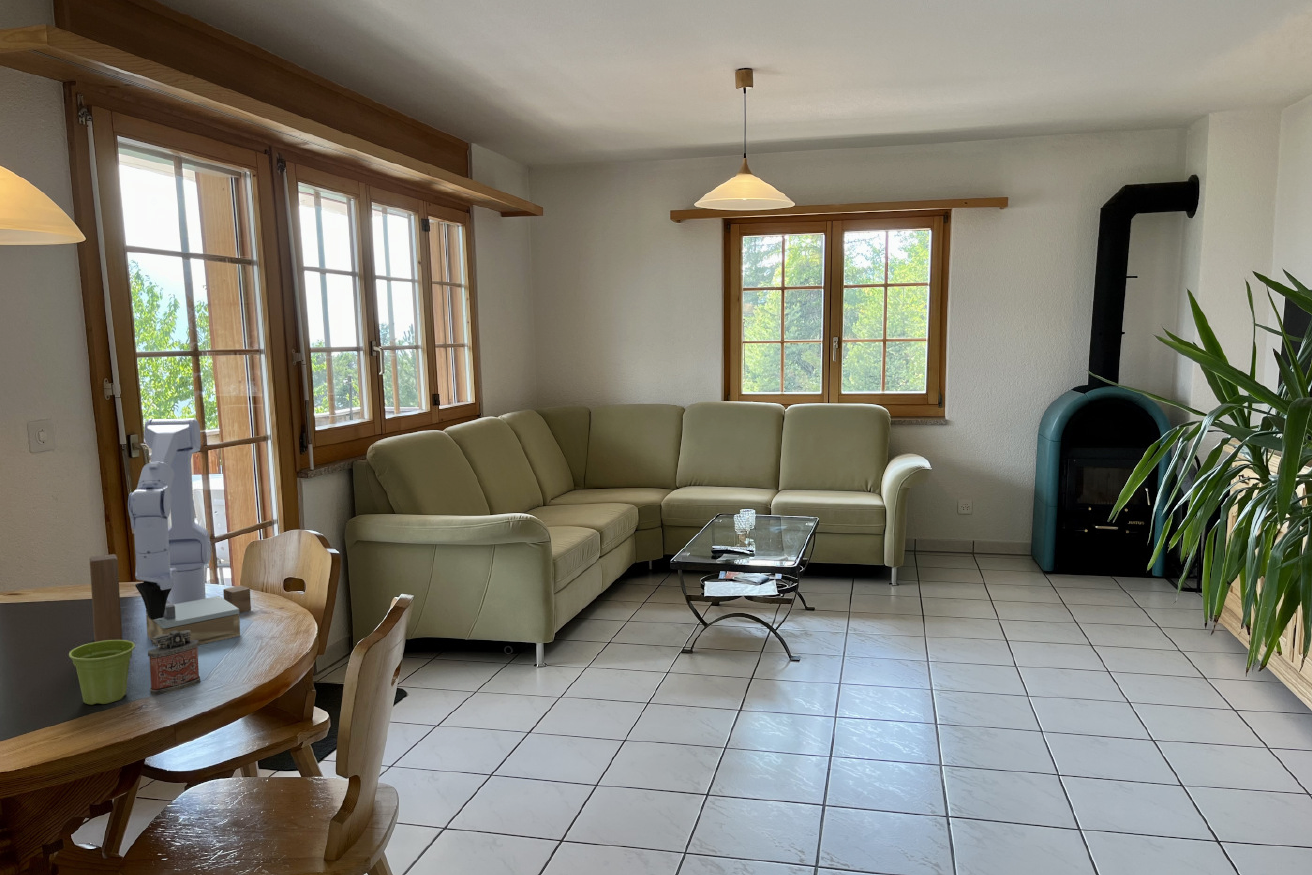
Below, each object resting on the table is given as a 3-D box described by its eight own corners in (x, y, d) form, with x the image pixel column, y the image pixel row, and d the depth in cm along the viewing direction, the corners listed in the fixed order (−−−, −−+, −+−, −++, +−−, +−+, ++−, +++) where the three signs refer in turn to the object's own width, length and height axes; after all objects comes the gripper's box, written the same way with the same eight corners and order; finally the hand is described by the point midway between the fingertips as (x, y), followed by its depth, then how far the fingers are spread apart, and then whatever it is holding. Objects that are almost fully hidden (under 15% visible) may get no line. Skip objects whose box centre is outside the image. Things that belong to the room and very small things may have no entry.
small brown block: (224, 610, 195) (223, 589, 194) (241, 606, 198) (240, 585, 197) (233, 614, 192) (232, 592, 192) (250, 610, 196) (249, 588, 195)
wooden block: (94, 638, 176) (88, 551, 174) (120, 634, 179) (115, 548, 177) (95, 652, 169) (89, 561, 167) (122, 647, 171) (117, 558, 169)
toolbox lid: (146, 614, 177) (145, 597, 177) (219, 600, 187) (218, 584, 186) (163, 628, 168) (162, 611, 168) (239, 613, 178) (238, 596, 178)
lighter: (195, 678, 156) (192, 624, 155) (203, 683, 154) (201, 628, 153) (146, 691, 150) (143, 635, 149) (154, 697, 148) (151, 640, 147)
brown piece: (147, 636, 178) (146, 615, 177) (220, 621, 187) (219, 601, 187) (164, 652, 169) (163, 629, 169) (240, 635, 179) (239, 614, 178)
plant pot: (119, 683, 154) (116, 635, 153) (149, 694, 149) (146, 645, 148) (61, 701, 146) (57, 651, 145) (90, 714, 141) (87, 663, 140)
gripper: (188, 552, 167) (192, 621, 168) (161, 540, 176) (165, 605, 178) (148, 559, 162) (152, 630, 163) (122, 546, 171) (126, 613, 173)
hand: (156, 618), depth 170 cm, fingers closed
